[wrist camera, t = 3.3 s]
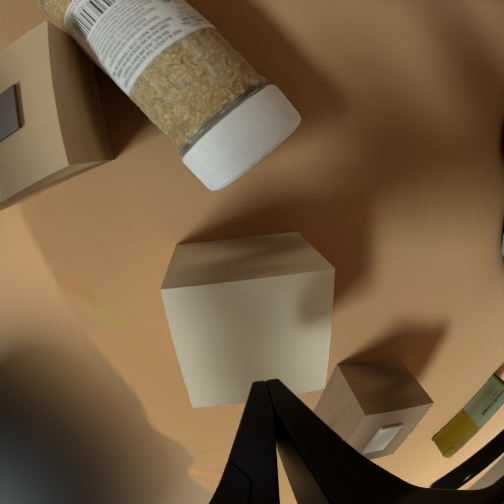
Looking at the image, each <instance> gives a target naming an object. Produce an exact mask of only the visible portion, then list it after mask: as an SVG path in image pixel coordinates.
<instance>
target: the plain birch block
mask: <svg viewBox="0 0 504 504" xmlns="http://www.w3.org/2000/svg"><path fill="white" fill-rule="evenodd" d="M334 282H335V268H334V267H333V266H332V265H331V264H330V263H329V262H328V261H327V260H326V259H325V258H324V257H323V256H322V255H321V254H320V253H319V252H318V251H317V250H316V249H315V248H314V247H313V246H312V245H311V244H310V243H309V242H308V241H307V240H306V239H305V238H303V237H302V236H301V235H300V234H299V233H298V232H289V233H279V234H269V235H260V236H250V237H241V238H232V239H222V240H213V241H204V242H196V243H187V244H178V245H176V247H175V250H174V252H173V255H172V258H171V261H170V264H169V266H168V269H167V272H166V275H165V278H164V281H163V284H162V287H161V293H162V298H163V302H164V307H165V311H166V315H167V319H168V323H169V327H170V331H171V335H172V339H173V343H174V346H175V350H176V354H177V357H178V361H179V364H180V368H181V371H182V375H183V378H184V381H185V385H186V388H187V391H188V394H189V397H190V400H191V403H192V406H193V408H196V407H209V406H220V405H230V404H239V403H246V401H247V398H248V395H249V392H250V388H251V385H252V383H253V382H254V381H262V380H264V381H265V382H266V380H269V379H275V378H278V379H279V380H280V381H282V382H283V383H284V384H285V385H286V386H287V387H288V388H289V389H290V390H291V391H292V392H293V393H294V394H295V395H296V394H301V393H306V392H311V391H316V390H320V389H324V388H325V384H326V376H327V368H328V359H329V349H330V339H331V327H332V314H333V299H334Z"/></svg>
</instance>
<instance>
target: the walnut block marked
mask: <svg viewBox="0 0 504 504" xmlns="http://www.w3.org/2000/svg"><path fill="white" fill-rule="evenodd" d="M433 403H434V402H433V401H432V399H431V398H430V397H429V396H428V394H427V393H426V392H425V390H424V389H423V388H422V387H421V385H420V384H419V383H418V382H417V380H416V379H415V378H414V377H413V375H412V374H411V373H410V372H409V370H408V369H407V368H406V367H405V365H404V364H403V363H402V362H390V363H368V364H337V365H336V367H335V369H334V371H333V373H332V376H331V378H330V380H329V382H328V384H327V386H326V388H325V390H324V392H323V394H322V396H321V398H320V400H319V401H318V403H317V405H316V407H315V409H314V411H313V412H314V413H315V414H316V415H317V416H318V417H319V418H320V419H321V420H322V421H324V422H325V423H326V424H327V425H328V426H329V427H330V428H331V429H332V430H333V431H335V432H336V433H337V434H338V435H339V436H340V437H341V438H342V439H343V440H345V441H346V442H347V443H348V444H349V445H351V446H352V447H353V448H354V449H355V450H357V451H358V452H359V453H360V454H362V455H363V456H364V457H366V458H367V459H369V460H370V459H375V458H379V457H383V456H387V455H390V454H393V453H394V452H395V451H396V450H397V448H398V447H399V446H400V445H401V444H402V443H403V442H404V440H405V439H406V438H407V437H408V436H409V434H410V433H411V432H412V431H413V429H414V428H415V427H416V426H417V424H418V423H419V422H420V421H421V419H422V418H423V417H424V415H425V414H426V413H427V411H428V410H429V409H430V407H431V406H432V404H433Z"/></svg>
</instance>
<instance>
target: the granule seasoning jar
mask: <svg viewBox="0 0 504 504" xmlns="http://www.w3.org/2000/svg"><path fill="white" fill-rule="evenodd" d="M37 1H38V5H39V8H40V9H41V10H42V11H43V12H45V13H47V14H49V15H51V16H52V17H53V18H54V19H55V20H56V22H57V23H58V24H59V25H61V26H62V28H63V29H64V30H65V31H66V32H67V33H68V34H69V35H70V36H71V37H72V38H73V40H74V41H75V43H76V44H77V45H78V46H79V47H80V48H81V49H82V50H83V51H84V52H85V54H86V55H87V56H88V57H89V58H90V59H91V60H92V61H93V62H94V63H95V64H96V65H97V66H98V67H99V68H100V69H101V70H102V71H103V72H104V73H105V74H107V75H108V76H109V77H110V78H111V79H112V80H113V81H114V82H115V84H116V85H117V86H118V87H119V88H120V89H121V90H122V91H123V92H124V93H125V94H126V95H127V96H128V97H129V98H130V99H131V100H132V102H133V103H134V104H136V105H137V106H138V107H140V109H141V110H142V111H143V113H144V114H145V115H146V116H147V117H148V118H149V119H150V120H151V121H152V122H153V123H154V124H155V125H156V126H157V127H158V128H159V129H160V131H163V133H164V135H166V136H167V137H168V139H169V140H170V141H171V142H172V143H173V144H174V146H175V150H176V152H177V153H178V154H182V153H183V158H182V161H183V163H184V164H185V165H186V166H187V167H188V168H189V169H190V170H191V171H192V172H193V173H194V174H195V175H196V176H197V177H198V178H199V179H200V181H201V182H202V183H203V184H204V185H205V186H206V187H207V188H208V189H210V190H213V191H216V190H219V189H222V188H224V187H225V186H227V185H228V184H230V183H232V182H233V181H235V180H236V179H237V178H239V177H240V176H242V175H243V174H244V173H246V172H247V171H249V170H250V169H251V168H252V167H254V166H255V165H256V164H258V163H259V162H260V161H261V160H263V159H264V158H265V157H266V156H267V155H269V154H270V153H271V152H272V151H273V150H274V149H275V148H277V147H278V146H279V145H280V144H281V143H282V142H283V141H284V140H285V139H286V138H287V137H288V136H290V135H291V134H292V133H293V132H294V131H295V130H296V128H297V127H298V126H299V124H300V121H301V117H300V115H299V113H298V112H297V111H296V109H295V108H294V107H293V105H292V104H291V103H290V101H289V100H288V99H287V98H286V97H285V95H284V94H283V93H282V92H281V91H280V90H279V88H278V87H277V86H276V85H270V84H268V83H267V79H266V78H265V77H263V76H261V75H259V74H258V73H257V71H256V70H255V69H254V68H253V67H252V66H251V65H250V64H249V63H248V62H247V61H246V60H245V59H244V58H243V56H242V55H241V54H240V53H239V52H238V51H237V50H235V49H234V48H233V46H231V45H230V44H229V43H228V42H227V40H226V39H225V38H223V37H222V36H221V35H220V34H219V32H218V30H217V29H216V28H215V27H214V26H213V25H212V24H211V23H210V22H209V21H208V20H207V19H205V18H204V17H203V16H202V15H201V14H200V13H199V12H198V11H196V10H195V9H194V8H193V7H192V6H191V5H189V4H188V3H187V2H186V1H185V0H37Z"/></svg>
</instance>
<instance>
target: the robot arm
mask: <svg viewBox="0 0 504 504" xmlns="http://www.w3.org/2000/svg"><path fill="white" fill-rule="evenodd" d="M276 447H277V450H278V452H279V455H280V458H281V461H282V463H283V466H284V469H285V472H286V474H287V477H288V480H289V482H290V485H291V488H292V490H293V493H294V496H295V498H296V501H297V504H504V475H503V476H502V477H501V478H500V479H499V480H497V481H496V482H495V483H494V484H493V485H491V486H489V487H486V488H483V489H479V490H448V489H432V488H423V487H418V486H415V485H412V484H410V483H407V482H405V481H404V480H402V479H400V478H398V477H397V476H395V475H393V474H391V473H390V472H388V471H386V470H385V469H383V468H381V467H380V466H378V465H376V464H375V463H373V462H372V461H370V460H369V459H367V458H366V457H364V456H363V455H362V454H360V453H359V452H358V451H357V450H355V449H354V448H353V447H352V446H351V445H349V444H348V443H347V442H346V441H345V440H343V439H342V438H341V437H340V436H339V435H338V434H337V433H336V432H335V431H333V430H332V429H331V428H330V427H329V426H328V425H327V424H326V423H325V422H324V421H322V420H321V419H320V418H319V417H318V416H317V415H316V414H315V413H314V412H313V411H312V410H311V409H310V408H308V407H307V406H306V405H305V404H304V403H303V402H302V401H301V400H300V399H299V398H298V397H297V396H296V395H295V394H294V393H293V392H292V391H291V390H290V389H289V388H288V387H287V386H286V385H285V384H284V383H283V382H282V381H280V380H279V379H278V378H275V379H269V380H266V382H265V381H264V380H262V381H254V382H253V383H252V385H251V388H250V392H249V395H248V398H247V401H246V405H245V408H244V411H243V414H242V418H241V421H240V424H239V427H238V430H237V433H236V437H235V440H234V443H233V446H232V449H231V452H230V455H229V458H228V462H227V464H226V467H225V470H224V472H223V475H222V477H221V480H220V483H219V485H218V487H217V489H216V491H215V493H214V495H213V497H212V499H211V501H210V503H209V504H280V498H279V482H278V467H277V452H276Z"/></svg>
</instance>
